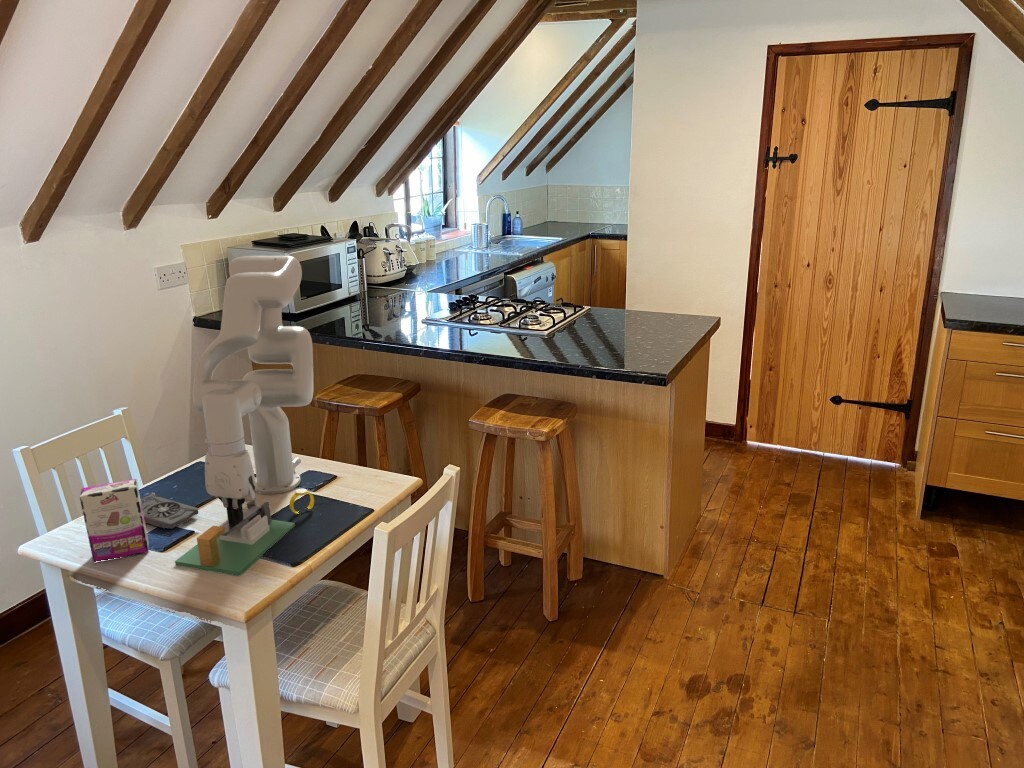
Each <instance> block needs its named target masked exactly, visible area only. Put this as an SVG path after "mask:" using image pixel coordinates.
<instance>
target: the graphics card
mask: <svg viewBox="0 0 1024 768" xmlns="http://www.w3.org/2000/svg"><path fill="white" fill-rule="evenodd" d="M140 499H141V504H142V509H143V515H144V520H145V524H149V525H153V526H156V527H158V528H163V529H165V528H164V527H167V529H175V527H177V526H178V525H181V524H185V523H186V522H188V521H189V520H190V519H191V518H193V517H194V516H195V515H198V514H199V512H200V511H199V508H198V507H196V506H195V507H194V506H192V505H188V504H185V503H181V502H177V501H174V500H172V499H167V498H164V497H160V496H156V494H155V492H151V493H150V494H149V495H147V496H145V497H143V498H140Z"/></svg>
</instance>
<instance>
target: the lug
mask: <svg viewBox="0 0 1024 768" xmlns="http://www.w3.org/2000/svg"><path fill="white" fill-rule="evenodd" d="M224 532H226V529H225V527H220V525H212V526H210V527H209V528H208V529H207V530H206V531H204V532H203V533H201V534H200V535H199V536H197V537H196V541H197V543H196V544H198V550H199V556H200V563H201V565H204V566H210V567H213V566H215V565H216V564H217V563H218V562H219V561H220V559H219V552H218V545H217V538H218V537H219V536H221V535H222V534H223V533H224Z"/></svg>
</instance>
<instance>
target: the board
mask: <svg viewBox="0 0 1024 768" xmlns="http://www.w3.org/2000/svg"><path fill="white" fill-rule="evenodd" d="M254 504H256V500H255V499H254V500H252V501H249V502H246V507H247V509H249V508H250V507H251V506H253V505H254ZM260 505H261V511H260V512H258V513H257V514H256V515H254V516H253V517H252V518H250V519H249V520H248V521H246V522H245V523H243V524H242V525H241V526H239V527H238V528H237V529H235V530H234V531H232V532H231V533H230V534H228V535H227V536H222V535H221V536H219V537H218V538H217V545H218V552H219V559H220V561H219V562H218V563H217V564H216V565H215V566H213V567H210V566H204V565H201V563H200V556H199V550H198V543H196V544H195V545H194V546H193V547H192V548H190V549H188V551H186V552H185V553H184V554H182V555H181V556H180V557H179V558H177V559H176V560H174V564H175V565H174V566H178V567H185V568H189V569H195V570H200V571H201V570H202V571H207V572H213V573H219V574H225V575H230V576H236V577H241V576H242V575H243V574H244V573H245V572H246V571H247V570H248V569H249V568H251V567H252V566H253V565H254V564H255V563H256V562H258V560H260V559H261V558H262V557H263V556H264V555H265V554H266V553H267V552H268V551H269V550H268V549H269V548H271V547H272V546H273V545H274V544H275V543H276V542H277V541H278V540H279V539H281V538H282V537H283V536H284V535H285V534H286V533H287V532H288V531H289V530H290V529H292V528H293V527H294V526H295V527H296V524H295V522H290V521H285V520H276V519H272V516H271V508H270V502H269V501H265V502H263V503H262V504H260ZM247 509H246V510H247ZM227 523H229V522H228V519H226V520H225V521H223V523H221V524H219V526H220V527H223V526H225V525H226V524H227ZM295 527H294V528H295ZM294 528H293V529H294ZM293 529H292V530H293ZM287 534H288V533H287ZM287 534H286V535H287ZM286 535H285V536H286ZM285 536H284V537H285ZM284 537H283V538H284ZM283 538H282V539H283ZM282 539H281V540H282ZM277 543H278V542H277ZM277 543H276V544H277ZM276 544H275V545H276ZM275 545H274V546H275ZM274 546H273V547H274ZM273 547H272V548H273ZM272 548H271V549H272ZM267 550H268V551H267ZM266 551H267V552H266ZM265 552H266V553H265ZM264 553H265V554H264ZM263 554H264V555H263Z"/></svg>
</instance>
